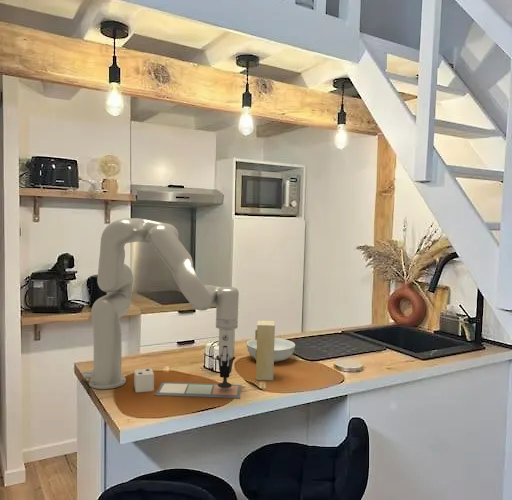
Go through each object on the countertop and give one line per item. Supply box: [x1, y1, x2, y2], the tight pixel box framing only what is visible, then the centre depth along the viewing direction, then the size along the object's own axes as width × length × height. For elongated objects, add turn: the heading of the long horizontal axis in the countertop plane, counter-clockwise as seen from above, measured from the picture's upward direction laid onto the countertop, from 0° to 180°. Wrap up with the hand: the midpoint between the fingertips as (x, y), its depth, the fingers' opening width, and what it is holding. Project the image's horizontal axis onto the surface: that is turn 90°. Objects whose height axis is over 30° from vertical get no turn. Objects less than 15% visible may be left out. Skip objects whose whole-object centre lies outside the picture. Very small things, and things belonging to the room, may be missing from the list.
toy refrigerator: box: [254, 320, 276, 381], centre depth 183 cm, size 8×7×21 cm
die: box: [133, 367, 155, 393], centre depth 168 cm, size 6×6×6 cm
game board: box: [154, 381, 242, 399], centre depth 168 cm, size 29×12×1 cm, turn 89°
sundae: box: [216, 354, 236, 388], centre depth 167 cm, size 7×7×15 cm
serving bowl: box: [246, 337, 296, 363], centre depth 206 cm, size 21×21×7 cm
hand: (225, 373), depth 167 cm, fingers closed on sundae, 4 cm apart
